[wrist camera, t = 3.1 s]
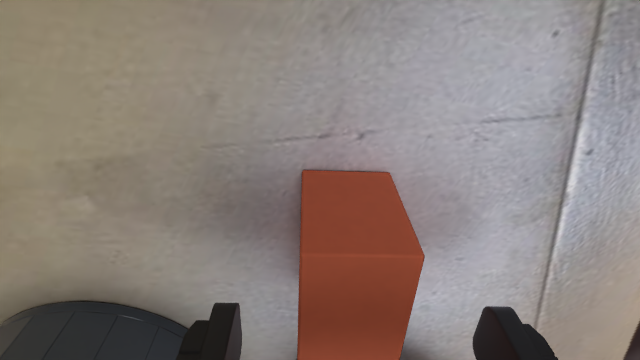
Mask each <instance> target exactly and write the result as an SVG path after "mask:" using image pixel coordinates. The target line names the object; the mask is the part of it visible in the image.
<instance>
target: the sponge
mask: <svg viewBox="0 0 640 360" xmlns="http://www.w3.org/2000/svg"><path fill="white" fill-rule="evenodd" d="M424 257H425V256H424V253H423V251H422V249H421V246H420V244H419V241H418V239H417V237H416V234H415V232H414V229H413V227H412V225H411V222H410V220H409V217H408V215H407V213H406V210H405V208H404V206H403V203H402V201H401V198H400V196H399V194H398V191H397V189H396V186H395V184H394V182H393V179H392V177H391V175H390V173H388V172H352V171H315V170H303V171H302V192H301V228H300V265H299V305H298V349H297V360H400V355H401V351H402V347H403V343H404V339H405V335H406V331H407V327H408V323H409V319H410V315H411V311H412V307H413V302H414V298H415V294H416V290H417V286H418V282H419V278H420V274H421V270H422V266H423V262H424Z"/></svg>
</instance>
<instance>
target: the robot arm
mask: <svg viewBox="0 0 640 360" xmlns="http://www.w3.org/2000/svg"><path fill="white" fill-rule="evenodd" d="M241 346H242V330H241V319H240V307H239V303H215V304H214V306H213V309H212V312H211V316H210V319H209V321H207V320H196V321H195V323H194V324H193V325H192V326H191V327H190V329H189V330H188V331H187V332H186V333H185V335H184V337H183V340H182V343H181V346H180V349H179V354H178V355H177V357H176V360H240V355H241ZM473 350H474V354H475V357H476V359H477V360H558V358H557V357H555V356H554V352H553V351H552V349H551V348H550V346H549V345H548V343H547V342H546V340H545V339H544V337H543V336H541V335H540V334H539V333H538V332H537V331H536V330H535V329H534V328H533V327H531V326H530V325H529V324H522V322H521V321H520V319H519V317H518V316H517V314H516V313H515V311H514V310H513V309H512V308H511V307H492V306H487V307H485V308H484V309H483V311H482V314H481V317H480V320H479V322H478V325H477V328H476V331H475V333H474V336H473Z"/></svg>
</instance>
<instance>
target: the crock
mask: <svg viewBox="0 0 640 360" xmlns="http://www.w3.org/2000/svg"><path fill="white" fill-rule="evenodd" d="M187 331H188V329H187V328H185V327H183V326H181V325H179V324H177V323H175V322H173V321H171V320H168V319H166V318H164V317H161V316H159V315H156V314H153V313H150V312H147V311H143V310H140V309H136V308H132V307H127V306H123V305H117V304H110V303H103V302H85V301H80V302H62V303H54V304H47V305H43V306H39V307H35V308H31V309H29V310H26V311H23V312H21V313H18V314H16V315H14V316H13V317H11V318H9V319H7V320H6V321H4V322H3V323H2V324H1V325H0V360H176V357H177V355H178V354H179V349H180V346H181V343H182V340H183V337H184V335H185V333H186V332H187Z"/></svg>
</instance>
